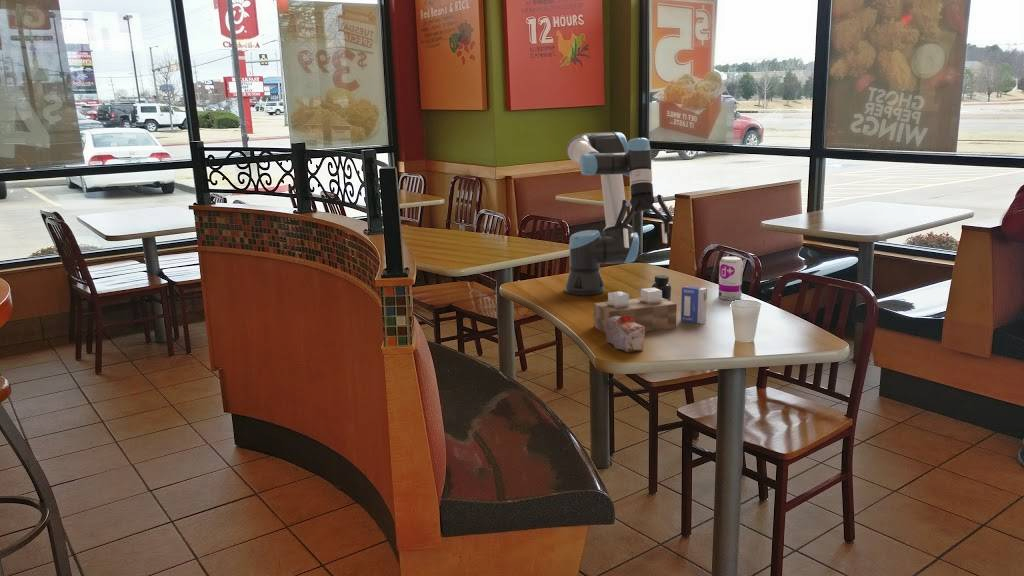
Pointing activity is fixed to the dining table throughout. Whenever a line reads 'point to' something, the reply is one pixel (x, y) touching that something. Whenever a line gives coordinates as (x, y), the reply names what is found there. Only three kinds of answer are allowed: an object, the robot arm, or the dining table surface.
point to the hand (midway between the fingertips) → (645, 245)
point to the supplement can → (730, 278)
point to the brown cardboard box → (638, 314)
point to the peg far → (651, 296)
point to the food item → (625, 333)
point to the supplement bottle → (663, 286)
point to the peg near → (618, 299)
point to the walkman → (693, 304)
